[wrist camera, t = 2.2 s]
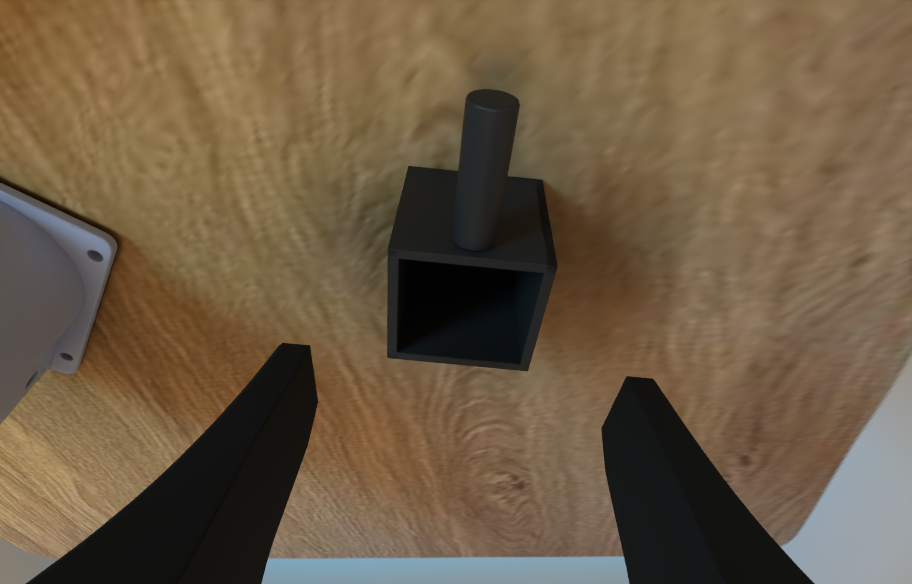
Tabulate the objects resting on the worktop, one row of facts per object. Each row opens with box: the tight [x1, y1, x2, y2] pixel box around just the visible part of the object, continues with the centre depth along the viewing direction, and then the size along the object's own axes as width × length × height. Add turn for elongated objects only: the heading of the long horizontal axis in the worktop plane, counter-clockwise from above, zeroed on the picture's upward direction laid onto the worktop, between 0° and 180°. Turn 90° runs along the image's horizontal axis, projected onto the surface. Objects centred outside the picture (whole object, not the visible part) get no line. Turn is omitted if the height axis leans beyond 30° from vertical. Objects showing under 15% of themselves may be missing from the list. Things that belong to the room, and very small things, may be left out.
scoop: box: [387, 89, 557, 371], centre depth 15 cm, size 8×4×5 cm, turn 175°
